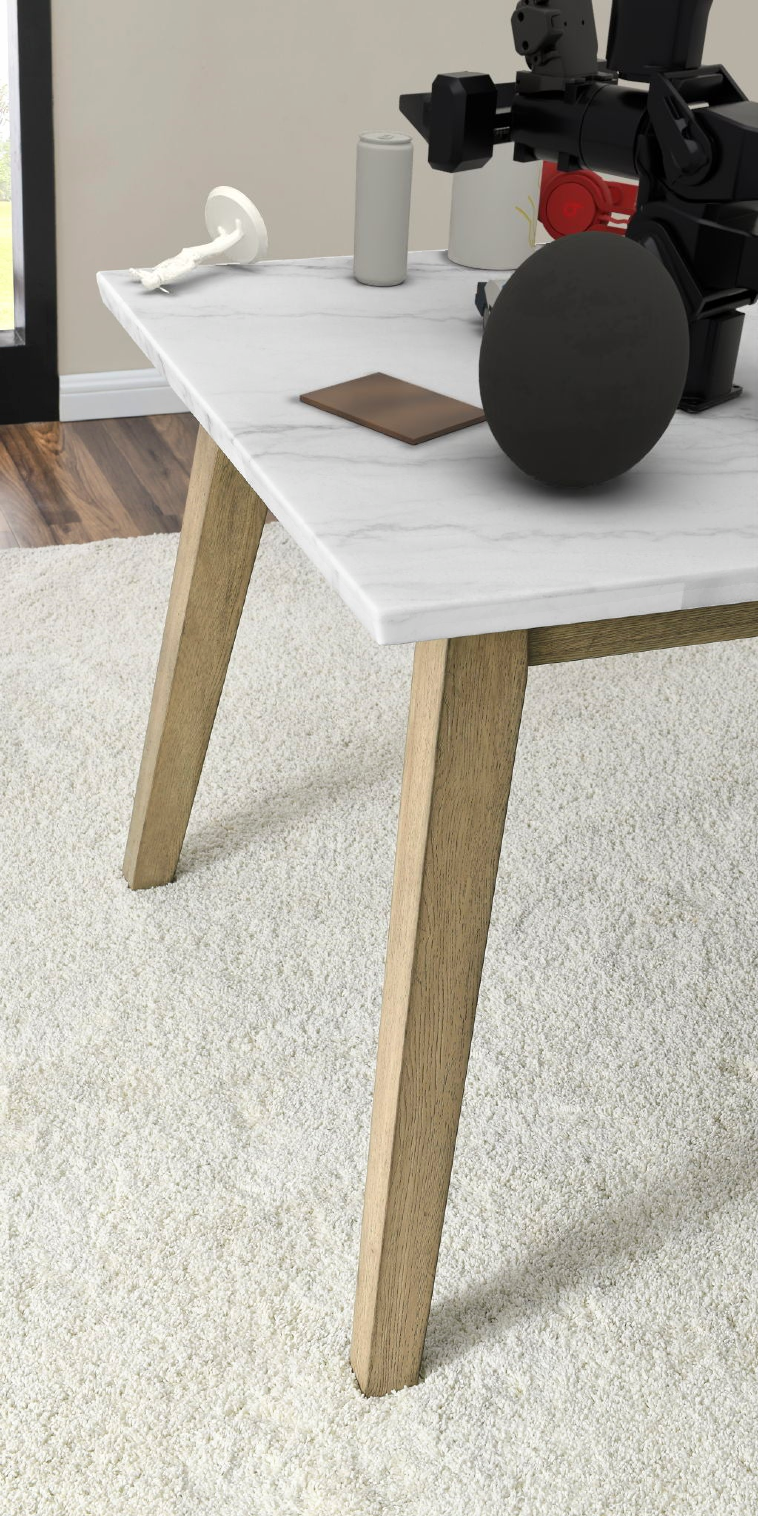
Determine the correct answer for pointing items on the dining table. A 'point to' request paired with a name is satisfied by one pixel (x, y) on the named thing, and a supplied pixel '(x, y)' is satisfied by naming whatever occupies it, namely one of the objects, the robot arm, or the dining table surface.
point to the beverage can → (382, 207)
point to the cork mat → (395, 407)
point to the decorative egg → (584, 359)
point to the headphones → (582, 202)
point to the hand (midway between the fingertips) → (441, 96)
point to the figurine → (217, 238)
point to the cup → (495, 212)
